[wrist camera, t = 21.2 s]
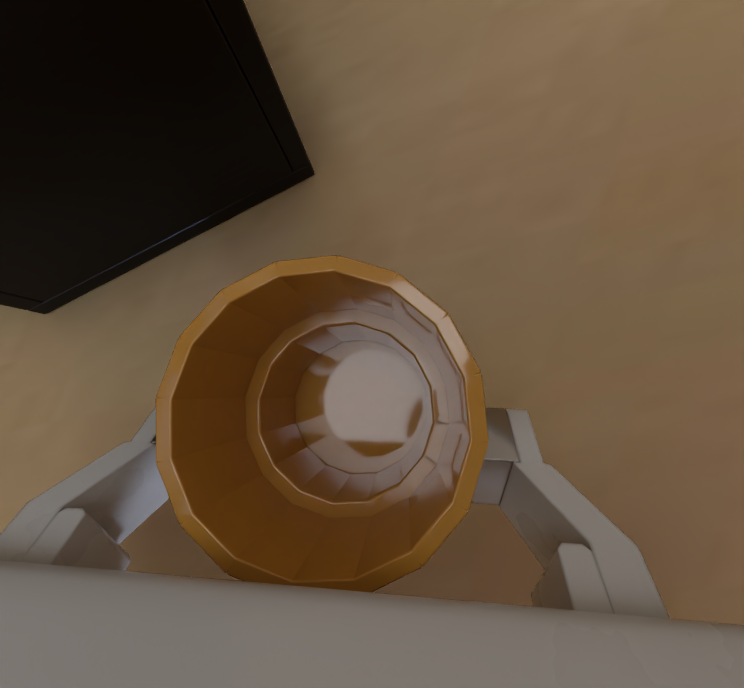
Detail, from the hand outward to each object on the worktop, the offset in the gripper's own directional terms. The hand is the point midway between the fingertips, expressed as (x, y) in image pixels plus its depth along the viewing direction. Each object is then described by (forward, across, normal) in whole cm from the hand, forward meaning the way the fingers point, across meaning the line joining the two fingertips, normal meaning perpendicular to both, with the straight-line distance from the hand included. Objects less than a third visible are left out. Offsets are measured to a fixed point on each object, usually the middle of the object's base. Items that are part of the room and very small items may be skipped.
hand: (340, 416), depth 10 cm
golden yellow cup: (+3, 0, +3) cm, 4 cm away
